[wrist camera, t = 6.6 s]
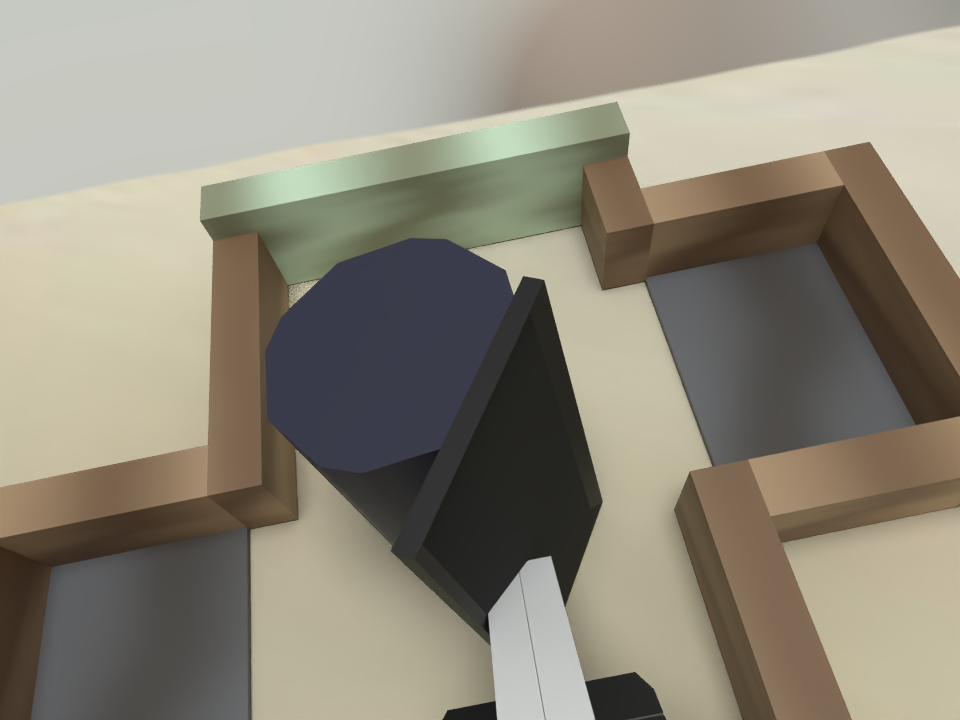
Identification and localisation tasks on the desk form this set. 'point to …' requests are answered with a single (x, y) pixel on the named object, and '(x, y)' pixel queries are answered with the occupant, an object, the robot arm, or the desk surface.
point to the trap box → (618, 261)
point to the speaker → (440, 416)
